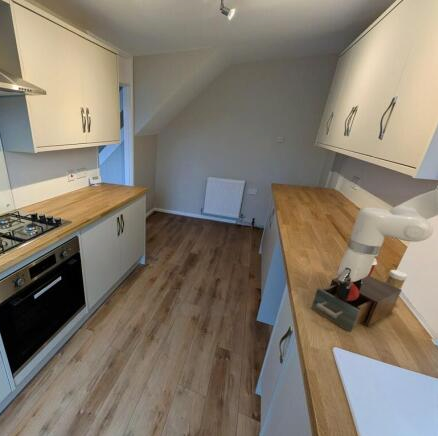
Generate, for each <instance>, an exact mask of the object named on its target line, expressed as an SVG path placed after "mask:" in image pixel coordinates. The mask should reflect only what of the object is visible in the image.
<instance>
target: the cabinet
mask: <svg viewBox="0 0 438 436" xmlns="http://www.w3.org/2000/svg"><path fill="white" fill-rule="evenodd" d="M339 278H340V276H337V277H335V278H332V279H331V282H330V285H329V287H330V286H332V285H335V284H339V281H338V279H339ZM347 278H348V279H351V278H350V277H347ZM345 282H349V281H347V280H345ZM360 284H361V283H360ZM401 293H402V288H401V289H398V288H396V287H394V286H391V285H389V284H387V283H386V282H384V281H382V280H380V279H377V278H375V277H373V276H371V275H370V276H366V277H365V278H364V281H363V283H362V286H361V288H360V291H359V295H360V296H362V297H364V298H366V299H368V300H370V301H371V302H373V303H374V304H373V306H372V308H371V311H370V313H369V316H368V318H367V320H365V321H363V322H361V323H360V324H362V325H364V326H365V327H366V328H367V327H370V326H372V325H373V324H375V323H378V322H379V321H380V320H382V319H384V318H386V317H388V316H389V315H391V314H392V313H393V310H394V308H395V306H396V304H397V301H398V299H399V297H400V295H401Z"/></svg>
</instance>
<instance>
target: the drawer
mask: <svg viewBox="0 0 438 436" xmlns="http://www.w3.org/2000/svg"><path fill="white" fill-rule="evenodd" d="M338 286H339V285H338V284H335V285H332V286H330V285H329V286H327V287H325V288H323V289H322V288H320V287H318V288H316V292H315V295H314V299H313V302H312V305H311V309H313V310H314V311H316V312H318V313H319V314H321V315H322V316H324V317H325V318H327V319H328V320H330V321H331V322H333V323H335V324H336V325H338V326H339V327H341V328H342V329H344V330H346V331H347V332H349V333H352V332H354V329H355V327H356V326H358V325H359V324H362V323H361V322H363V321H365V320H367V318H368V316H369V313H370V311H371V308H372V306H373V304H374V303H373V302H371V301H370V300H368V299H366V298H364V297H362V296H360V295H359V296H358V298H357V299H356V300H353V301H344V300H343V299H342V298H340V296H338V295H337V294H336V292H337V287H338Z"/></svg>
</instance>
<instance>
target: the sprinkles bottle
mask: <svg viewBox="0 0 438 436" xmlns="http://www.w3.org/2000/svg"><path fill="white" fill-rule="evenodd" d="M407 278H408V274H407V273H405V272H404V271H401V270H397V269H391V270H389V273H388V277H387V279H386V281H385V283H387V284H389V285H391V286H394V287H396V288H398V289H401V290H402V287H403V285H404V283H405V282H406V280H407Z"/></svg>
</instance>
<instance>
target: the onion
mask: <svg viewBox="0 0 438 436" xmlns="http://www.w3.org/2000/svg"><path fill="white" fill-rule="evenodd" d="M346 283H347V284H348V283H349V282H346ZM337 289H338V287H337ZM349 289H351V290H350V293H349V296H348V298H347V299H344V298H342V297H340V298H342V299H343V300H344V301H353V300H356V299H357V298H358V296H359V290H358V288H357V287H356V286H355V285H354V284H353V283H352V285H351V287H350V288H349Z"/></svg>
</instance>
